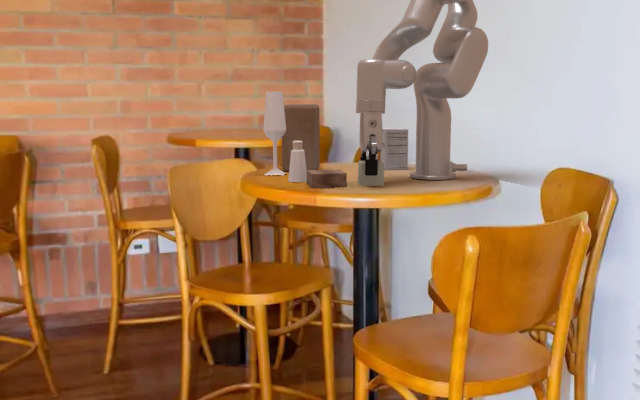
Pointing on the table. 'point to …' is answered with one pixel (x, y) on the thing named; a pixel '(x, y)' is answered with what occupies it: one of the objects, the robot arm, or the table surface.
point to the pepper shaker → (297, 163)
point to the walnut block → (326, 178)
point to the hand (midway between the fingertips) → (368, 173)
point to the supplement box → (394, 148)
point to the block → (302, 134)
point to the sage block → (370, 180)
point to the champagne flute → (274, 124)
